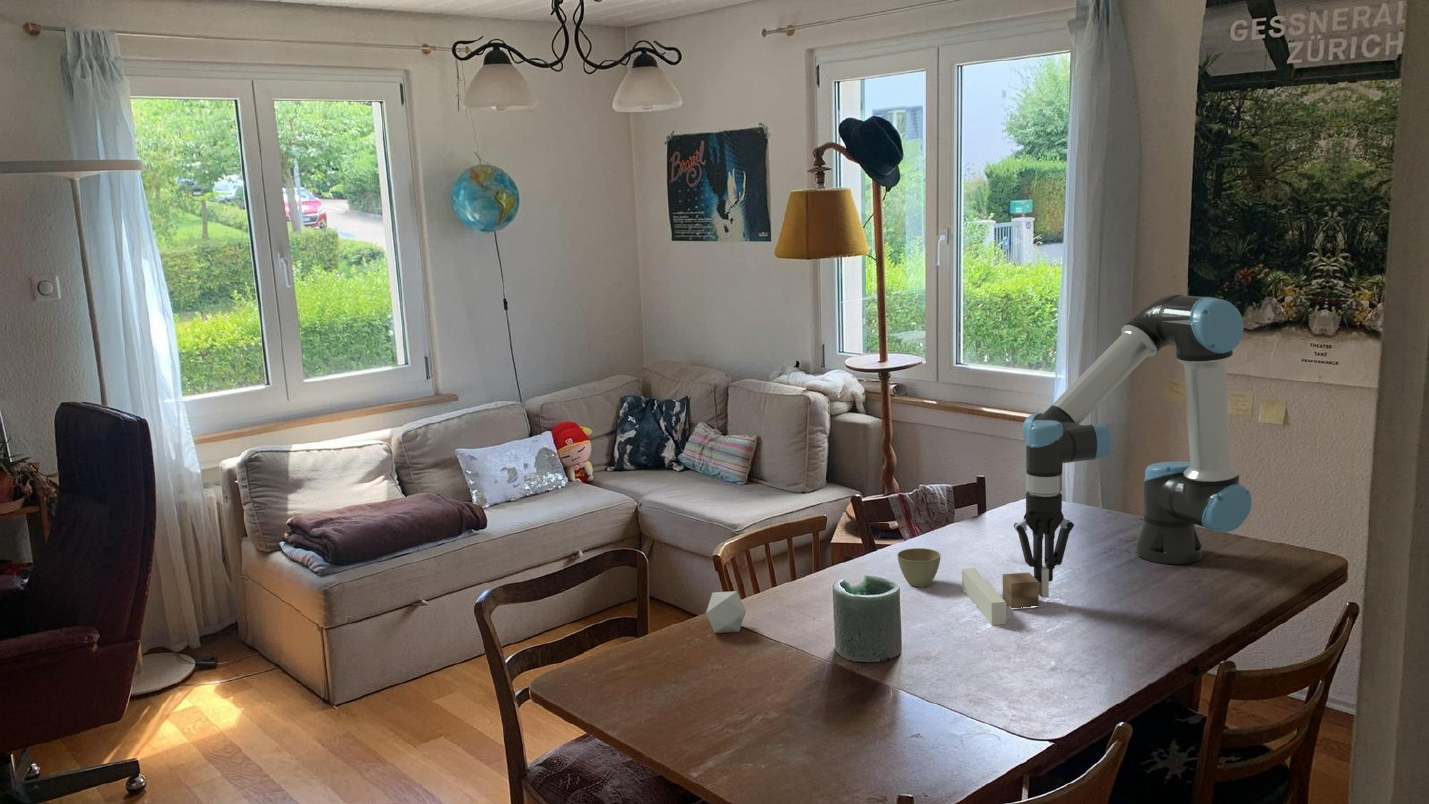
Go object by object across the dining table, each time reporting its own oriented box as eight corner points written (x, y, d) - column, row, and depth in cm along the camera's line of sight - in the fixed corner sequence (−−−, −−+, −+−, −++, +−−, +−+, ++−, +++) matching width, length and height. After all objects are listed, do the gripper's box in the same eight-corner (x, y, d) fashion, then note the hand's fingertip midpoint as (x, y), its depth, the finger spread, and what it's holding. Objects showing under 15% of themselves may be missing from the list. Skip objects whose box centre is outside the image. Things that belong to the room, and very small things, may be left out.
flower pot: (938, 575, 264) (938, 547, 262) (943, 590, 254) (942, 560, 253) (896, 576, 265) (895, 547, 263) (899, 591, 255) (898, 561, 254)
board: (975, 588, 254) (975, 567, 253) (1006, 624, 232) (1006, 601, 232) (962, 589, 254) (961, 568, 253) (991, 625, 232) (991, 602, 231)
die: (733, 643, 231) (756, 601, 233) (695, 622, 232) (718, 580, 233) (732, 642, 239) (754, 601, 241) (696, 622, 240) (718, 581, 242)
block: (1029, 598, 247) (1029, 572, 246) (1038, 607, 241) (1038, 581, 240) (1002, 599, 246) (1002, 574, 245) (1011, 609, 240) (1011, 583, 239)
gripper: (1066, 485, 243) (1065, 587, 248) (1008, 489, 243) (1008, 591, 247) (1080, 494, 236) (1078, 599, 240) (1020, 498, 235) (1020, 603, 239)
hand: (1043, 595), depth 243 cm, fingers closed
